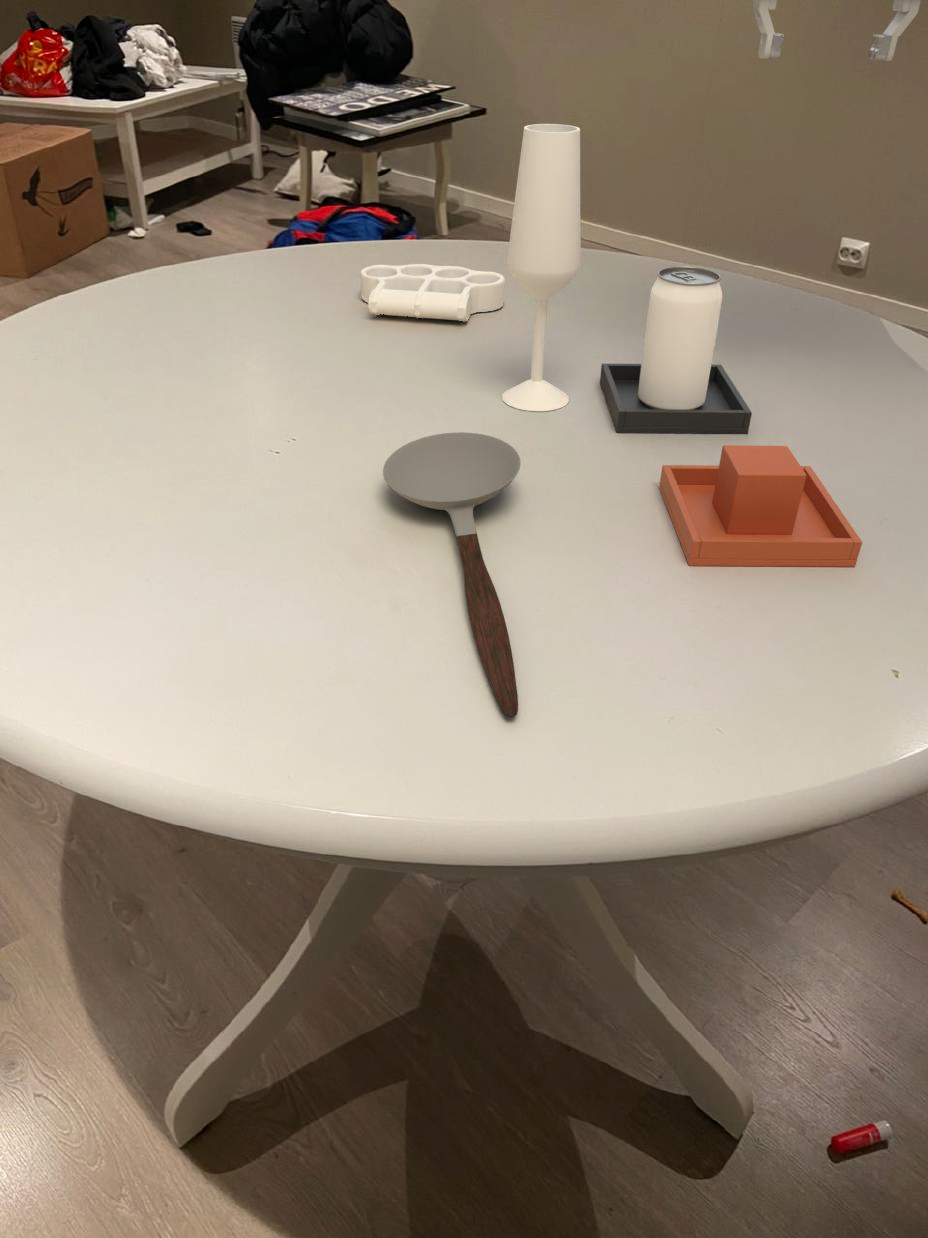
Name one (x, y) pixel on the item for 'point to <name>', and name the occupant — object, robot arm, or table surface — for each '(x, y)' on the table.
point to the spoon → (465, 528)
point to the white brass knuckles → (430, 290)
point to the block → (758, 489)
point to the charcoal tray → (632, 416)
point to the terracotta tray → (706, 542)
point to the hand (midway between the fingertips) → (824, 59)
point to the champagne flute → (545, 242)
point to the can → (680, 338)
